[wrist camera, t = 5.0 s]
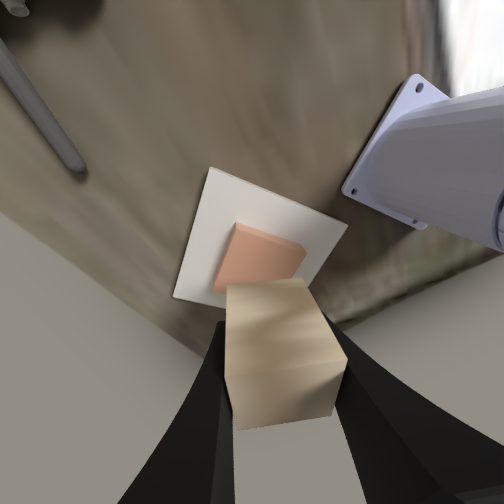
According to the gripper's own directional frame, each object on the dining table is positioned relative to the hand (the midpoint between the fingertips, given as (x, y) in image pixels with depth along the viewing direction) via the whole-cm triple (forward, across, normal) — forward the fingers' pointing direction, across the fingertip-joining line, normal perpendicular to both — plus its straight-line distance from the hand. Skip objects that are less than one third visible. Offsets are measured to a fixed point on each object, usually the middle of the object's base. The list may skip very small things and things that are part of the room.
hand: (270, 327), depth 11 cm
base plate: (+8, 0, 0) cm, 8 cm away
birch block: (+1, 0, 0) cm, 1 cm away
